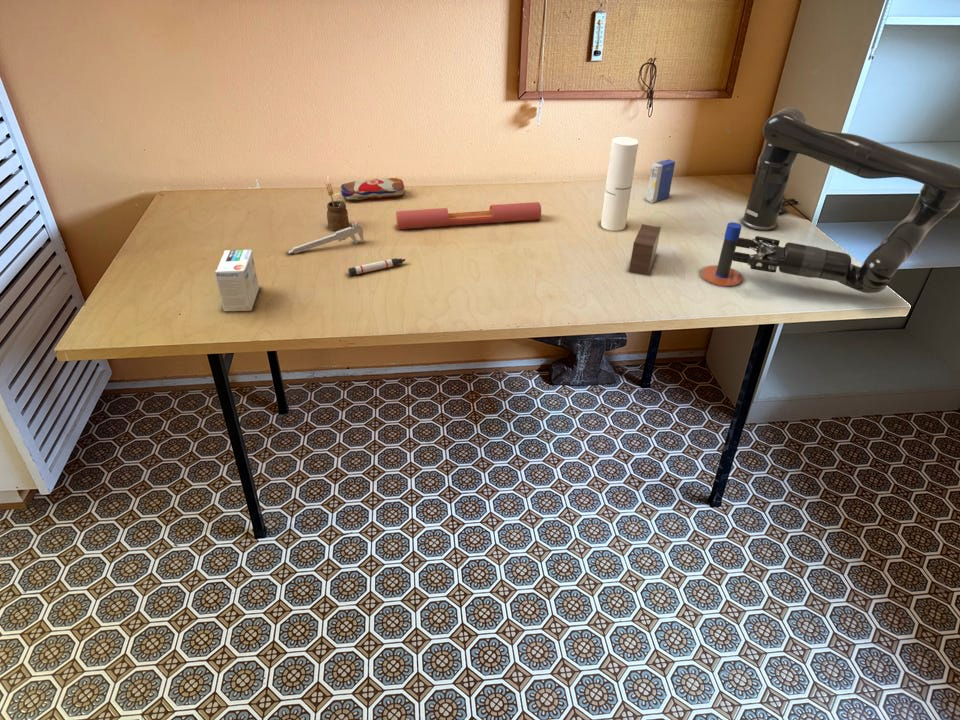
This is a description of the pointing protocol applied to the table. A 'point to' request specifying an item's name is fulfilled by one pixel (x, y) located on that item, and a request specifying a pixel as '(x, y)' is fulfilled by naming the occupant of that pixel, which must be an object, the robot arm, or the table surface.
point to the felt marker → (728, 249)
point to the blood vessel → (468, 216)
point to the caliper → (331, 238)
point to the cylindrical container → (619, 182)
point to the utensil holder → (336, 213)
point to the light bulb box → (237, 280)
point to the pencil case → (372, 188)
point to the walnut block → (644, 249)
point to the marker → (375, 266)
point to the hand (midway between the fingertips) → (734, 248)
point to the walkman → (660, 180)
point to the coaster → (711, 277)
